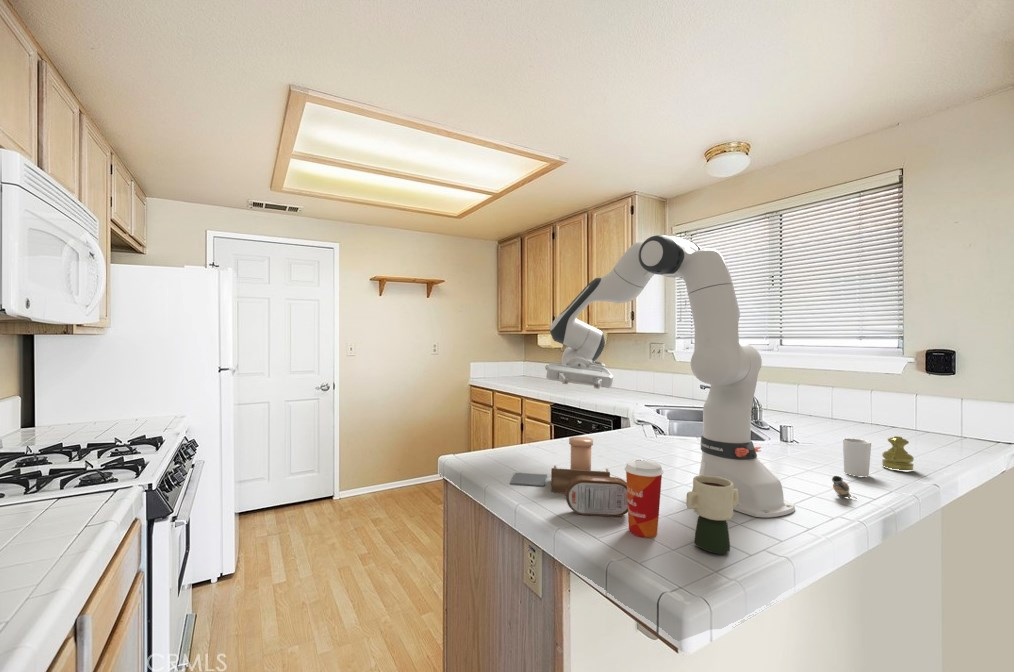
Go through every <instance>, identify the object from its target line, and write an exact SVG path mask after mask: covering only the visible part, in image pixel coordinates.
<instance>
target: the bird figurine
mask: <svg viewBox="0 0 1014 672" xmlns="http://www.w3.org/2000/svg"><path fill="white" fill-rule="evenodd" d="M829 478H830V476H829ZM831 481H832V483H833V484H832V488H833V490H834V491H835V492H834V493H835V494H836V495H837V496H838V495H840V496H842V497H841V498H843V497H848V498H850V497H852V498H855V500H856V499H858V498H857V497H856V496H853V495H852V494H851V493H849V492H850V486H849V484H848V483H847V482H846V481H844V480H843V478H842V477H841V476H839V475H838V476H837V475H834V476H832V478H831ZM856 484H857V483H856ZM840 496H839V497H840Z"/></svg>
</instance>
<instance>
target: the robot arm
mask: <svg viewBox="0 0 1014 672" xmlns="http://www.w3.org/2000/svg"><path fill="white" fill-rule="evenodd" d="M654 275H658V276H664V277H667V278H680V279H682V280H683V281H684V282H685V286H686V291H687V296H688V302H689V304H690V309H691V315H692V318H693V326H694V327H693V328H694V349H693V353H692V356H691V358H690V368H691V369H690V370H691V371H692V373H693V375H694V377H695V378H696V379H698V380H699V381H700V382H702V383H704V384H708V385H710V387H709V391H708V395H707V396H706V397H707V398H706V400H705V402H704V404H703V407H702V408H703V409H702V435H701V437H700V450H701V459H700V467H699V473H698V476H700V475H709V476H717V477H721V478H725V479H727V480H730V481H731V482H733V485H734V489H737V490H738V505H736V506H733V511H736V512H739V513H741V514H742V513H743V514H745V515H749V516H752V517H754V518H777V517H782V516H786V515H789V514H792V513H793V512H795V511H796V509H795V504H794V503H793V502H791V501H789V500H786V499H784V490H783V489H784V488H783V485H782V483H781V480H779V478H778V477H777V476H776V475H775V474H774V473H773V472H772V471H770V470H769V468H767V466H765V464H764V463H763V462H761V460H759V458H758V455H757V454H758V452H759V453H760V452H762V451H761V450H760V449H761V448H762V447H761V446H756V447H755V445H754V443H753V441H752V440H751V436H752V435H751V434H752V433H751V432H752V431H751V429H752V410H753V403H754V398H755V394H756V393H755V392H756V386H757V382H758V377H759V372H760V370H761V368H762V364H763V363H762V357H761V354H760V352H759V350H757V349H756V347H755V348H754V346H752V345H750V344H749V343H746V342H744V341H740V338H739V337H740V336H739V321H740V317H741V311H740V307H739V304H738V303H739V302H738V299H737V295H736V290H735V287H734V284H733V280H732V277H731V273H730V271H729V268H728V266H727V264H726V261H725V259H724V257H723V254H721V252H720V251H718V250H716V249H714V248H702V247H701V246H700V245H699V244H697V243H696V242H693V241H689V240H686V239H683V238H681V237H679V236H671V235H665V234H657V235H653V236H650V237H648V238H647V239H645V240H644V241H642V242H641V241H638V242H635V243H633V244H632V245H631V246H630V247H629V248H628V249H627V250H626V251H625V252H624V253H623V255H622V256H621V257H620V258H619V259H618V261H617V263H615V265H614V267H613V269H612V270H611V271H610V272H608V273H607V274H606V275H605V276H601V277H596V278H594V279H593V280H591V281H590V282H588V283H587V285H586V286H585V287H584V288H583V289H582V290H581V291H580V293H579V294H578V295H577V296H576V297H575V298H574V299H573V300H572V301H571V302H570V303H569V305H567V307H566V308H565V309H564V310H563V311H562V312H560V314H559V315H558V316H556V317H555V318H554V320H553V321H552V323H551V326H550V328H549V333H550V335H551V338H552V340H553V341H554V342H557V343H558V344H561V345H564V346H566V348H565V349H564V350H563V352H562V356H561V363H557V362H550V363H548V364H546V365H545V366H544V367H545V370H546V375H545V378H546V379H547V380H549V381H557V382H561V383H562V385H568V384H569V383H571V384H575V385H585V386H592V387H593V388H594V389H598V390H599V389H600V388H607V389H610V388H612V386H613V381H614V380H613V379H614V375H613V374H612V372H611V371H610V370H609V369H608V368H606V364H605V363H603V362H599V361H596V360H597V359H598V358H599V357H600V356H601V354H602V352H603V351H604V348H605V343H606V341H605V335H604V332H603V331H602V330H600V329H598V328H597V327H595V326H592V325H591V324H588V323H587V322H584V321H583V320H580V319H578V316H580V314H581V313H582V312H583V311H584V310H585V309H586V308H587V306H589V305H590V304H591V303H594V302H609V303H616V304H624V303H629V302H632V301H633V300H635V299H636V298H637V297H638V296H639V295H640V294H641V293H642V292H643V290H645V289H644V288H645V287H646V286H647V284H648V283H649V281H650V280H651V278H652V277H653V276H654Z"/></svg>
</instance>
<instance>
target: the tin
mask: <svg viewBox="0 0 1014 672" xmlns="http://www.w3.org/2000/svg"><path fill="white" fill-rule="evenodd" d="M564 496H565V499H566V503H567V505H568V507H569V508H570V510H571V511H573V512H574V513H576V514H578V515H581V516H596V517H598V516H599V517H611V518H612V517H613V518H615V517H616V518H617V517H618V518H619V517H622V516H624V515H626V514H628V502H627V481H625V480H624V479H622V478H620V477H614V476H610V477H600V476H583V475H582V476H577V477H575V478H573V479H572V480H570V481H569V483H568V484H567V486H566V490H565V493H564Z"/></svg>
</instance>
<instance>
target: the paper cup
mask: <svg viewBox="0 0 1014 672" xmlns="http://www.w3.org/2000/svg"><path fill="white" fill-rule="evenodd" d="M624 471H625V474H626V476H625V477H626V483H627V502H628V512H627V519H628V521H627V522H628V523H627V524H628V530H629V533H631V534H632V535H633V536H636V537H638V538H647V539H650V538H654V537H656V536H657V534H658V528H659V519H660V517H659V516H660V514H659V513H660V503H661V492H662V491H661V490H662V477H663V476H662V475H664V470H663V468H662V465H661V464H660V463H658V462H657V461H653V460H649V459H643V460H642V459H635V460H634V459H631V460H628V461H627V462H626V466H625V467H624Z"/></svg>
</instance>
